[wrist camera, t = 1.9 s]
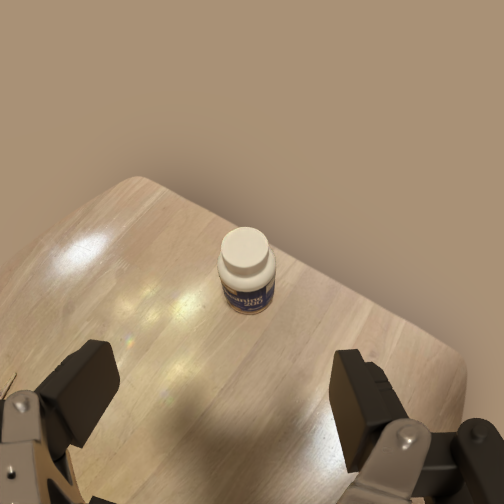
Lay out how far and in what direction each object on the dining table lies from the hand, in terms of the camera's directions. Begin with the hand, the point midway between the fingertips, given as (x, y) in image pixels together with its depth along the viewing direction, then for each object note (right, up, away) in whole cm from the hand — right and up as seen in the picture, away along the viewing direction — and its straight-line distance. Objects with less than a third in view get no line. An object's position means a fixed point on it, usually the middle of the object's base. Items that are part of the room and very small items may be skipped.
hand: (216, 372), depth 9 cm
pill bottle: (+1, -1, +23) cm, 23 cm away
